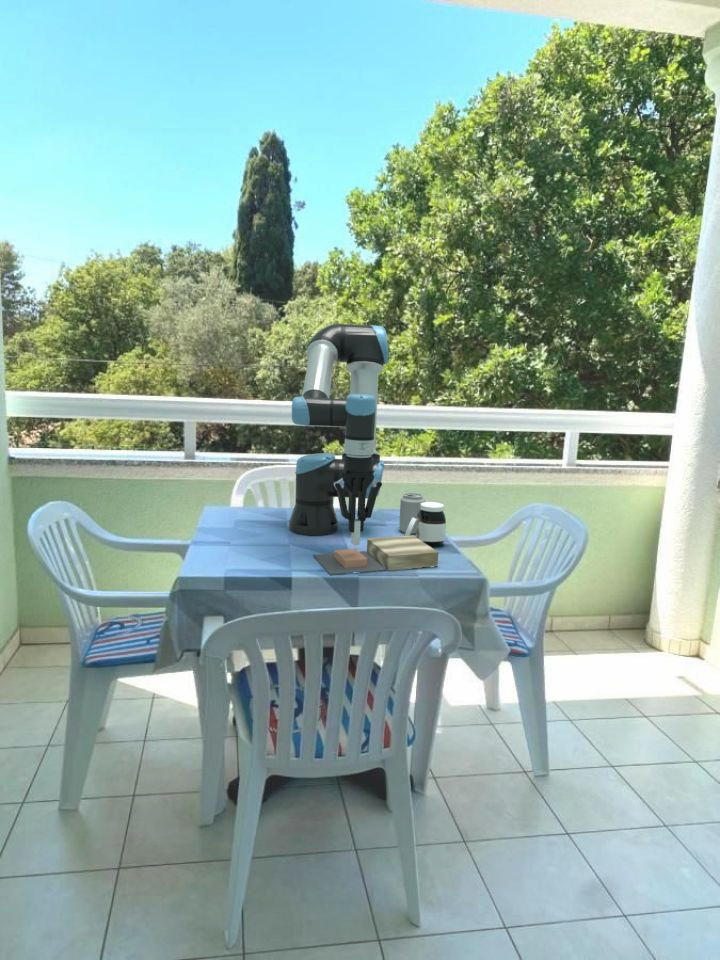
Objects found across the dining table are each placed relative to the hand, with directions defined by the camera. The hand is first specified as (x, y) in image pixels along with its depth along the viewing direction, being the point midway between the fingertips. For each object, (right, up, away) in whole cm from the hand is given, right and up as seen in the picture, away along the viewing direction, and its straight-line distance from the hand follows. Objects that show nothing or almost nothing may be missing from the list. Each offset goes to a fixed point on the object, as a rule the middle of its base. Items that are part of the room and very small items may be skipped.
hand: (355, 543), depth 177 cm
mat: (-2, -5, +1) cm, 5 cm away
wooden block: (+12, -5, +6) cm, 14 cm away
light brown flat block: (-1, -3, 0) cm, 3 cm away
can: (+17, 0, +33) cm, 37 cm away
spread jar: (+20, -2, +23) cm, 30 cm away
